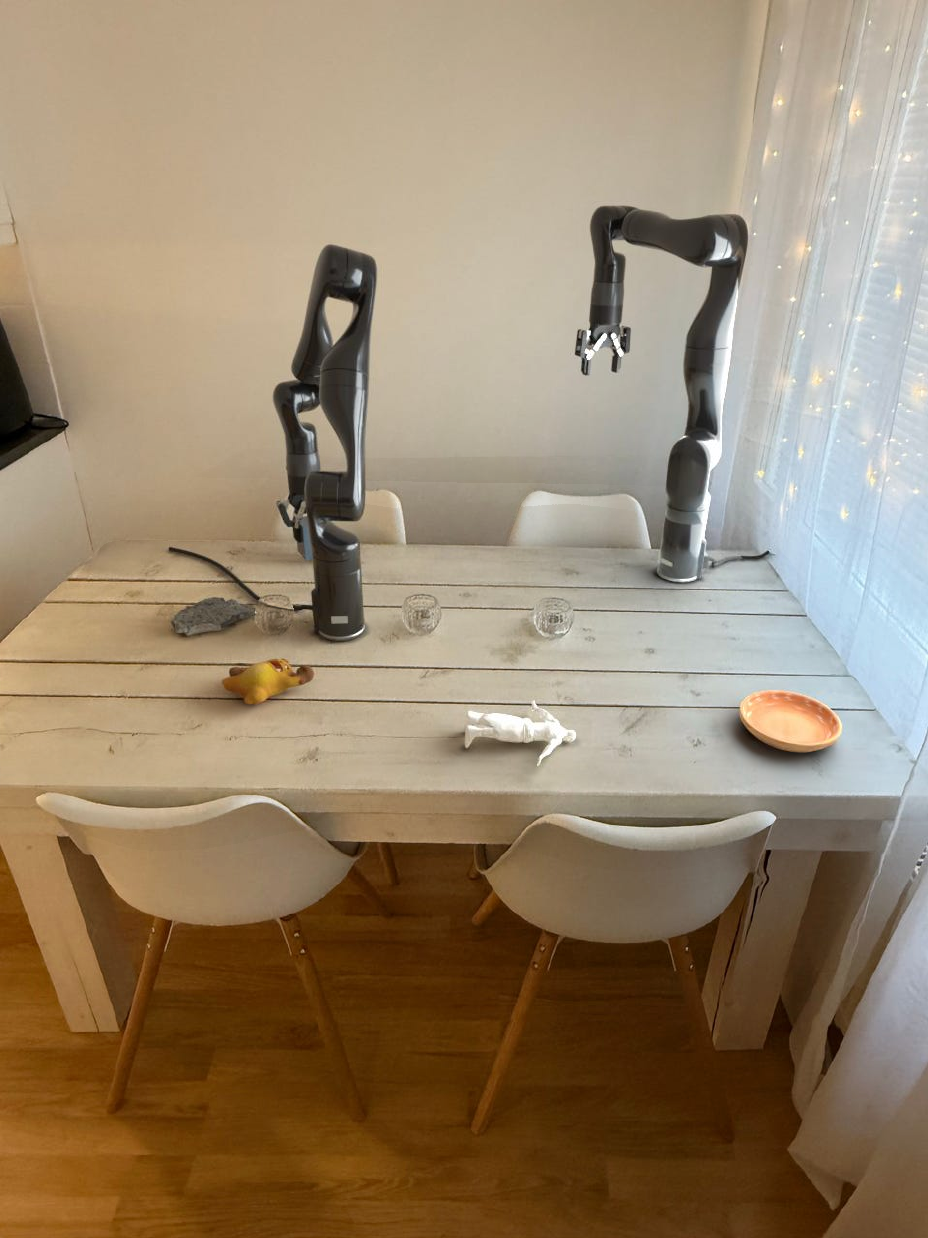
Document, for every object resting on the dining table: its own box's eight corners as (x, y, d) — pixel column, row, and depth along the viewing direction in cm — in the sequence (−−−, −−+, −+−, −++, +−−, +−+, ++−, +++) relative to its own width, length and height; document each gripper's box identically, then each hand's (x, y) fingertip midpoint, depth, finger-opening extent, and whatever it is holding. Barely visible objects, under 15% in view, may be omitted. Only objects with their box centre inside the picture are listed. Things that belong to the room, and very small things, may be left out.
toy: (214, 669, 145) (294, 645, 152) (223, 703, 146) (302, 678, 153) (228, 678, 135) (313, 652, 142) (238, 714, 136) (322, 687, 143)
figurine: (463, 772, 126) (578, 784, 127) (467, 744, 123) (584, 757, 124) (464, 709, 141) (566, 721, 142) (468, 684, 139) (572, 696, 139)
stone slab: (156, 626, 166) (154, 613, 164) (223, 596, 177) (221, 584, 176) (194, 646, 159) (192, 633, 158) (261, 614, 171) (259, 601, 169)
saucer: (730, 699, 144) (733, 685, 143) (824, 707, 142) (828, 693, 141) (745, 755, 130) (748, 740, 129) (849, 764, 128) (854, 749, 127)
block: (305, 560, 191) (302, 527, 187) (297, 550, 196) (294, 517, 192) (324, 557, 193) (322, 523, 189) (316, 547, 198) (313, 514, 194)
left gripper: (277, 479, 178) (284, 550, 187) (339, 470, 184) (344, 540, 192) (268, 469, 184) (275, 539, 192) (328, 461, 190) (333, 529, 198)
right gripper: (590, 305, 183) (585, 379, 191) (641, 302, 189) (633, 373, 197) (572, 301, 189) (567, 373, 197) (621, 298, 195) (615, 367, 202)
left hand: (310, 539), depth 192 cm, fingers closed on block, 4 cm apart
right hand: (600, 373), depth 197 cm, fingers open, 8 cm apart
